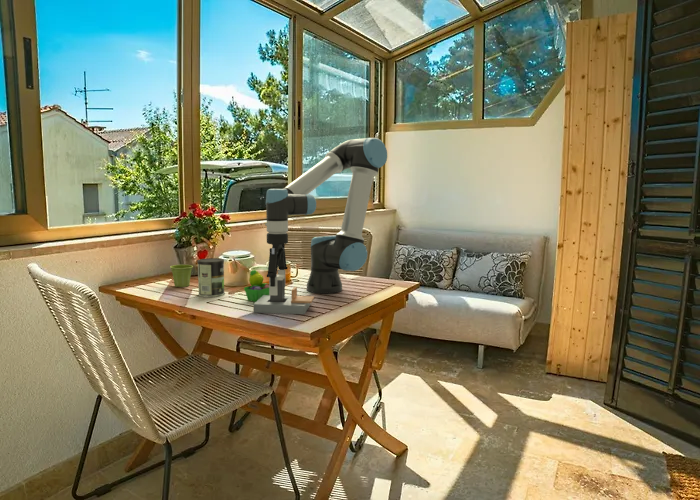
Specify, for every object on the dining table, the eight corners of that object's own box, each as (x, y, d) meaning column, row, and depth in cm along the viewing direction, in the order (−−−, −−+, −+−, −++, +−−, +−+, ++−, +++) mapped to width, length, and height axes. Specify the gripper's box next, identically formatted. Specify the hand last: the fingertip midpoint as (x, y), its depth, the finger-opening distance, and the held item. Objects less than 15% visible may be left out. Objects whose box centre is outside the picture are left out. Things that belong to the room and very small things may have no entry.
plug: (272, 306, 183) (272, 274, 182) (285, 306, 183) (285, 274, 181) (269, 309, 179) (269, 276, 177) (282, 310, 178) (282, 277, 177)
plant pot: (189, 282, 222) (188, 263, 221) (196, 286, 215) (196, 266, 214) (167, 285, 217) (167, 265, 216) (175, 289, 209) (174, 268, 208)
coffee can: (225, 291, 207) (224, 257, 205) (224, 296, 197) (223, 261, 195) (199, 292, 205) (198, 258, 203) (197, 297, 195) (196, 262, 193)
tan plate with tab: (294, 297, 184) (294, 286, 183) (314, 298, 183) (314, 286, 182) (290, 302, 176) (290, 290, 176) (311, 303, 176) (311, 291, 175)
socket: (263, 302, 188) (263, 295, 188) (310, 304, 187) (310, 296, 187) (253, 312, 174) (253, 304, 174) (304, 314, 173) (304, 305, 173)
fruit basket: (257, 303, 187) (256, 274, 186) (240, 300, 192) (240, 271, 191) (278, 298, 196) (277, 269, 195) (261, 294, 202) (261, 267, 200)
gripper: (274, 229, 190) (275, 283, 193) (257, 236, 165) (258, 298, 168) (294, 229, 189) (294, 284, 192) (280, 236, 164) (280, 299, 167)
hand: (277, 291), depth 180 cm, fingers open, 13 cm apart
